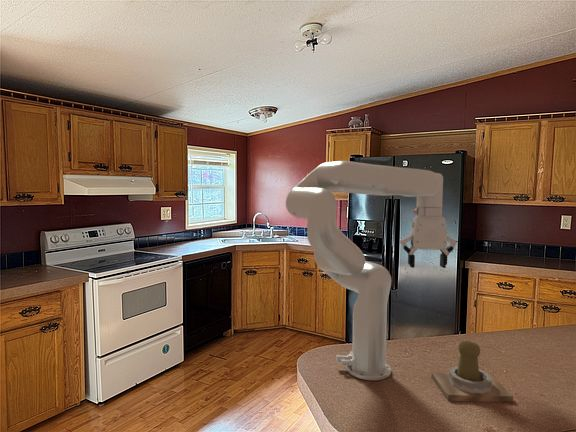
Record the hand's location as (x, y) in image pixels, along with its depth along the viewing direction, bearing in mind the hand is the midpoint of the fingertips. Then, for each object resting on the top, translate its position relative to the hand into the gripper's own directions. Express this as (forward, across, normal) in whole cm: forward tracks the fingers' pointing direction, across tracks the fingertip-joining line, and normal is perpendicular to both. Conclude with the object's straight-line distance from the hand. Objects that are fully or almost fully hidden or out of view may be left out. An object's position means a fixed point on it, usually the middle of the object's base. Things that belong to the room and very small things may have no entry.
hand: (427, 267), depth 123 cm
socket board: (+28, +5, -22) cm, 36 cm away
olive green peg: (+27, +4, -21) cm, 35 cm away
